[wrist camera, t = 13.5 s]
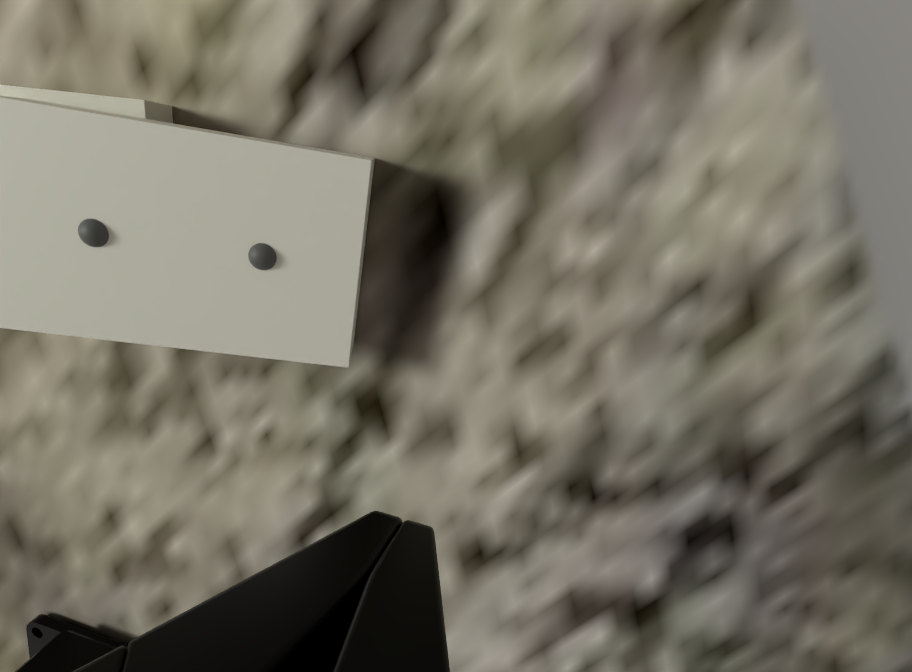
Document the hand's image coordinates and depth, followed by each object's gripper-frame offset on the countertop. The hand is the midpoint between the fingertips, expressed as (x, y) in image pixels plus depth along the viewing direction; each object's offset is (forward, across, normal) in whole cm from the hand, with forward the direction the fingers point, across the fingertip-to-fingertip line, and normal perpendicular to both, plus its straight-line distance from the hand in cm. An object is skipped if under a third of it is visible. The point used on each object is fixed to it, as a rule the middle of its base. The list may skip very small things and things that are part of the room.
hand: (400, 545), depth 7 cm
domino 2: (+7, +4, -2) cm, 8 cm away
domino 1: (+7, +9, -3) cm, 12 cm away
